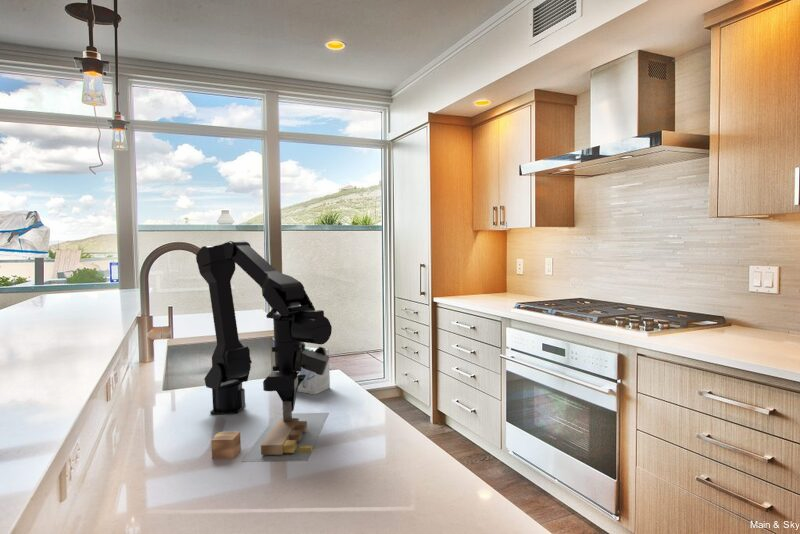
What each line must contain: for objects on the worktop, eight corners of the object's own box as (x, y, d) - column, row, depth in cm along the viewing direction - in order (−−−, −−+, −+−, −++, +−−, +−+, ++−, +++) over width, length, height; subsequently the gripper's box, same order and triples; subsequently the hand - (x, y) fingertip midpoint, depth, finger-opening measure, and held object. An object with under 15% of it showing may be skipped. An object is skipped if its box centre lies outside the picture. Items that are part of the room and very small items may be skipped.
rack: (261, 454, 94) (260, 424, 93) (280, 426, 108) (279, 399, 107) (293, 454, 94) (292, 423, 93) (308, 426, 108) (307, 399, 107)
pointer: (298, 452, 95) (298, 448, 95) (299, 450, 96) (299, 446, 96) (311, 452, 95) (310, 448, 95) (312, 450, 96) (311, 445, 96)
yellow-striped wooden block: (212, 461, 93) (211, 439, 93) (220, 452, 97) (219, 431, 97) (233, 460, 93) (232, 439, 93) (241, 451, 97) (240, 431, 97)
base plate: (241, 463, 92) (241, 461, 92) (277, 415, 117) (277, 413, 117) (307, 462, 92) (307, 460, 92) (328, 414, 117) (328, 412, 117)
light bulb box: (284, 390, 137) (282, 350, 136) (300, 383, 143) (298, 345, 142) (316, 394, 132) (314, 354, 131) (331, 387, 138) (329, 348, 137)
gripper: (317, 348, 98) (320, 426, 99) (332, 330, 117) (334, 396, 118) (260, 349, 99) (264, 428, 99) (284, 331, 117) (286, 398, 118)
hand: (290, 411), depth 109 cm, fingers closed
